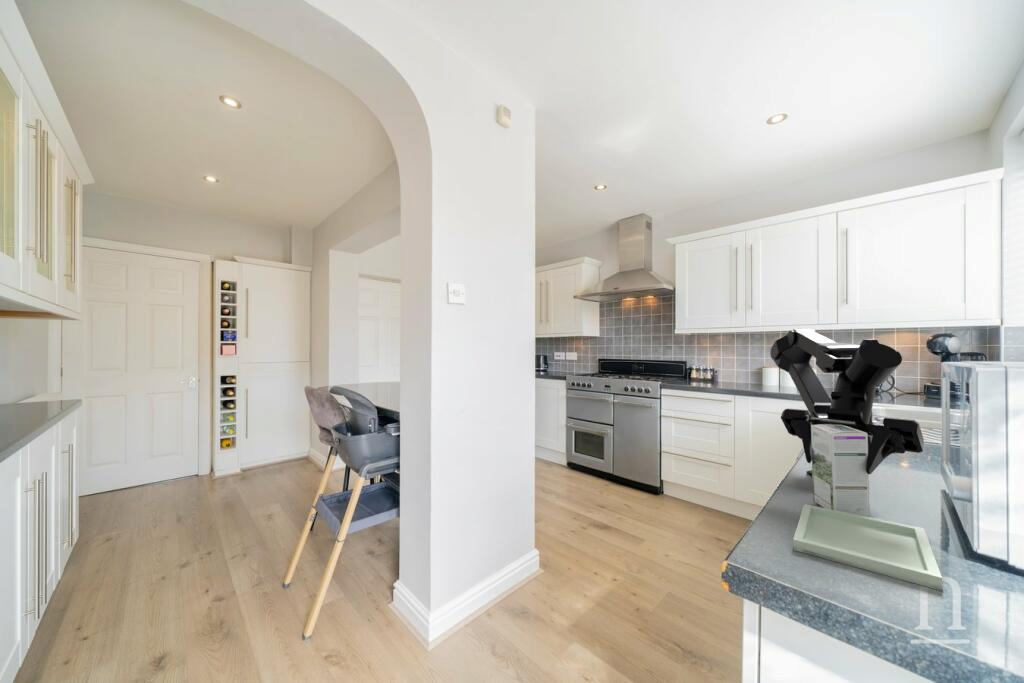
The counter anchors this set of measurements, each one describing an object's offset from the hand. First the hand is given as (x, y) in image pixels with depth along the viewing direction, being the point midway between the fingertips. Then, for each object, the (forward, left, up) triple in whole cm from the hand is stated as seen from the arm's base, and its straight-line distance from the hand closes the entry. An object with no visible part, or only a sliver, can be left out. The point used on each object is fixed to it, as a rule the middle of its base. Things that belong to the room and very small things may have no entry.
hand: (836, 467), depth 64 cm
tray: (+9, +8, -8) cm, 14 cm away
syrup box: (-1, -1, -8) cm, 8 cm away
